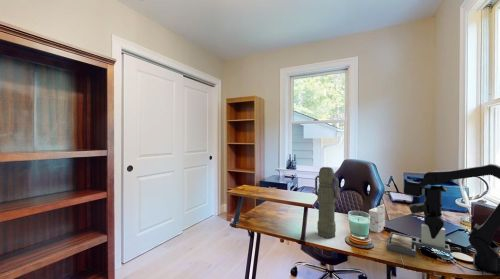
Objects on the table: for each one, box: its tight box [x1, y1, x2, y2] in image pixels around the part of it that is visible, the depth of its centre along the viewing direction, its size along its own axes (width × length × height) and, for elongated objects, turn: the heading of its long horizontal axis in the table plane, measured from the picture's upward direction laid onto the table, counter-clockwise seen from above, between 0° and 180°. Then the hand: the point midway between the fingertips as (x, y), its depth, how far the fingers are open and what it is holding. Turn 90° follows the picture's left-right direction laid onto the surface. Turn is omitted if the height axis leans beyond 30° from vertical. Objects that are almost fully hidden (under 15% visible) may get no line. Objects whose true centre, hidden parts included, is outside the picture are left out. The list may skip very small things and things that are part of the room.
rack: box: [386, 231, 451, 258], centre depth 97 cm, size 22×17×4 cm
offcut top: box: [392, 234, 412, 246], centre depth 97 cm, size 7×4×2 cm, turn 52°
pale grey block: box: [420, 223, 446, 248], centre depth 97 cm, size 8×2×10 cm, turn 52°
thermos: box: [314, 166, 340, 239], centre depth 114 cm, size 9×12×35 cm
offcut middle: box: [391, 239, 411, 249], centre depth 97 cm, size 7×4×2 cm, turn 52°
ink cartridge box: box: [368, 203, 386, 233], centre depth 119 cm, size 9×5×15 cm, turn 126°
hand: (432, 234), depth 97 cm, fingers open, 9 cm apart
